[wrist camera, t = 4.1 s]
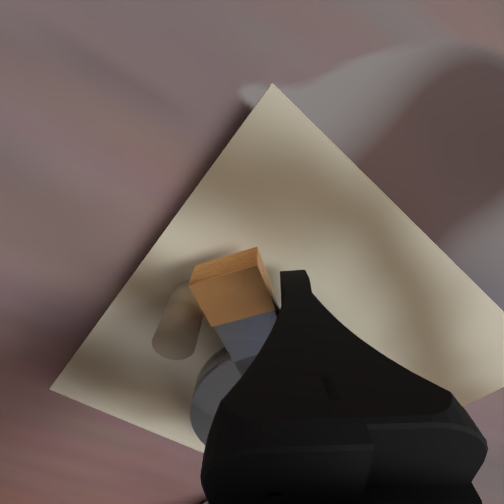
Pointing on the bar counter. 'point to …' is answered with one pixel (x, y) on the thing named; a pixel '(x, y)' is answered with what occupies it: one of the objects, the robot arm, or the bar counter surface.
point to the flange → (230, 326)
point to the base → (275, 260)
